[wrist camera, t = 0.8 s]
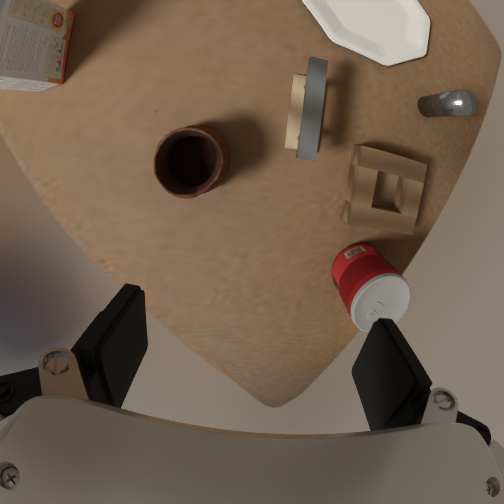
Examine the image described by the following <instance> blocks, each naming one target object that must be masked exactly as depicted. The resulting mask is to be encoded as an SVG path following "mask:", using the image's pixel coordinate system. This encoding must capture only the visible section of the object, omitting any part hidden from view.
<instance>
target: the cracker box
mask: <svg viewBox="0 0 504 504" xmlns="http://www.w3.org/2000/svg"><path fill="white" fill-rule="evenodd" d="M74 18H75V14H74V13H72V12H70V11H68V10H66V9H64V8H62V7H60V6H58V5H56V4H54V3H52V2H50V1H48V0H0V89H9V90H25V91H37V92H42V91H44V90H47V89H50V88H53V87H55V86H58V85H61V84H63V81H64V72H65V64H66V58H67V51H68V46H69V40H70V35H71V30H72V26H73V22H74Z"/></svg>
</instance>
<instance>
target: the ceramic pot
mask: <svg viewBox="0 0 504 504" xmlns="http://www.w3.org/2000/svg"><path fill="white" fill-rule="evenodd" d="M156 112H157V111H156ZM228 166H229V150H228V147H227V144H226V142H225V140H224V138H223V137H222V136H221V135H220V134H219V133H217V132H216V131H214V130H212V129H211V128H208V127H204V126H199V125H192V126H187V127H184V128H180V129H176V130H174V131H171V132H170V133H168V134H166V135H165V137H164V138H163V140H161V141H160V142H159V144H158V146H157V150H156V154H155V157H154V173H155V176H156V178H157V180H158V181H159V183H160V184H161V185H162V187H163V188H164V189H165V190H166V191H167V192H169V193H170V194H172V195H174V196H176V197H180V198H194V197H197V196H198V195H200V194H203V193H206V192H209V191H210V190H212V189H214V188H215V187H217V186H218V185H219V184H220V183H221V181H222V180H223V179H224V177H225V175H226V172H227V170H228Z"/></svg>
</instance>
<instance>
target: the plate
mask: <svg viewBox="0 0 504 504" xmlns="http://www.w3.org/2000/svg"><path fill="white" fill-rule="evenodd" d="M302 2H303V4H304V5H305V6H306V7H307V9H308V10H309V11H310V13H311V14H312V15H313V17H314V18H315V19H316V21H317V22H318V23H319V25H320V26H321V28H322V29H323V30H324V32H325V33H326V35H327V36H328V38H329V39H330V40H331V41H332V42H334V43H335V44H337V45H340V46H342V47H344V48H347V49H349V50H352V51H354V52H356V53H358V54H361V55H363V56H365V57H367V58H369V59H371V60H373V61H375V62H377V63H379V64H381V65H384V66H391V65H394V64H398V63H401V62H405V61H408V60H412V59H416V58H420V57H424V56H425V54H426V52H427V45H428V38H429V30H430V19H429V17H428V15H427V14H426V12H425V11H424V9H423V8H422V6H421V5H420V3H419V2H418V1H417V0H302Z"/></svg>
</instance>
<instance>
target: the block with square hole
mask: <svg viewBox="0 0 504 504" xmlns="http://www.w3.org/2000/svg"><path fill="white" fill-rule="evenodd" d="M426 169H427V164H424V163H421V162H418V161H415V160H412V159H408V158H405V157H402V156H399V155H395V154H392V153H388V152H385V151H381V150H378V149H374V148H370V147H366V146H358V145H353V150H352V157H351V163H350V169H349V175H348V181H347V187H346V192H345V198H344V203H343V208H342V213H341V218H342V219H343V220H344V221H345V222H347V223H348V224H350V225H356V226H362V227H368V228H374V229H380V230H386V231H391V232H397V233H402V234H408V235H412V234H413V230H414V226H415V222H416V218H417V214H418V210H419V205H420V201H421V196H422V191H423V186H424V181H425V175H426Z"/></svg>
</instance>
